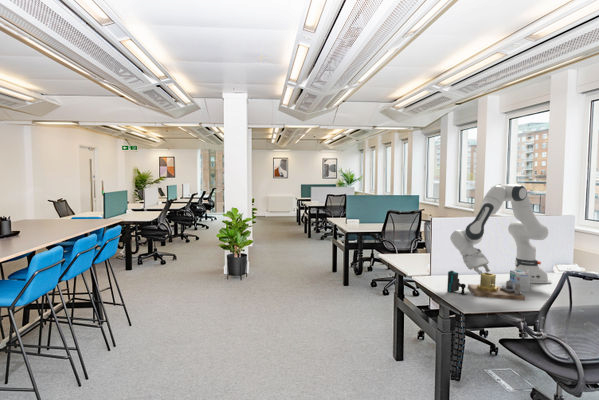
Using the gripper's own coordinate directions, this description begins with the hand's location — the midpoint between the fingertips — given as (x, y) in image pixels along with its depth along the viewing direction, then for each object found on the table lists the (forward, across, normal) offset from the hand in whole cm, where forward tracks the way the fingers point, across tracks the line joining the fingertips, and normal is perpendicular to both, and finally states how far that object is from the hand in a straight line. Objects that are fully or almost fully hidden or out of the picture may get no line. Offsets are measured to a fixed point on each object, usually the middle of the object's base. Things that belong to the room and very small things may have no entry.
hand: (485, 272), depth 227 cm
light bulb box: (+15, +25, +1) cm, 29 cm away
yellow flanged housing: (+8, 0, +5) cm, 10 cm away
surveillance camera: (+2, -16, +14) cm, 22 cm away
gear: (+15, +8, -1) cm, 16 cm away
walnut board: (+12, +2, +4) cm, 13 cm away
